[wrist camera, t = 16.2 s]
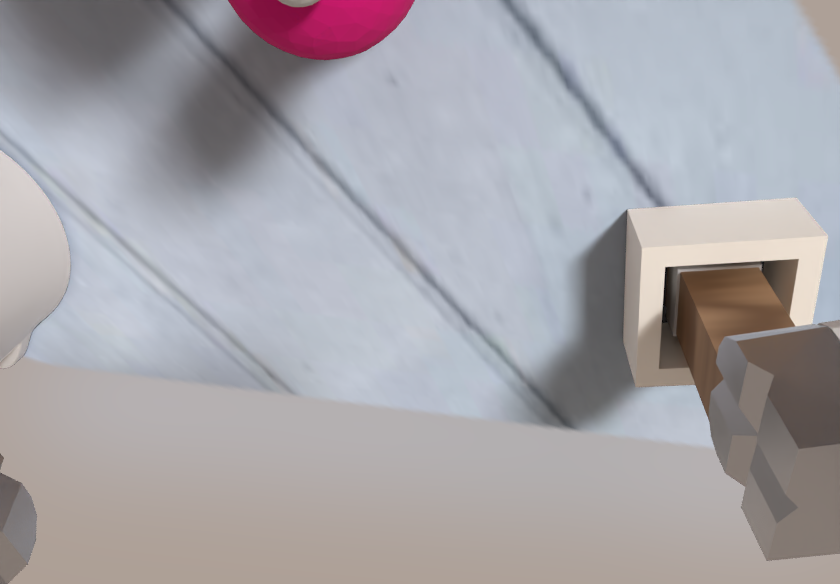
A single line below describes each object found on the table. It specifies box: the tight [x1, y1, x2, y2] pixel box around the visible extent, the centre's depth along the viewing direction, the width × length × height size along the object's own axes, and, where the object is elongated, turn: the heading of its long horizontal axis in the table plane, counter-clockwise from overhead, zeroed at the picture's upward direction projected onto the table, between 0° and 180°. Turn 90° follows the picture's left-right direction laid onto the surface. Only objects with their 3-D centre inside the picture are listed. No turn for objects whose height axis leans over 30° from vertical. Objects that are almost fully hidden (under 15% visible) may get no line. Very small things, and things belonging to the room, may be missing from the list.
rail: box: [665, 261, 796, 422], centre depth 38 cm, size 4×4×14 cm
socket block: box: [623, 198, 828, 387], centre depth 42 cm, size 9×9×4 cm
